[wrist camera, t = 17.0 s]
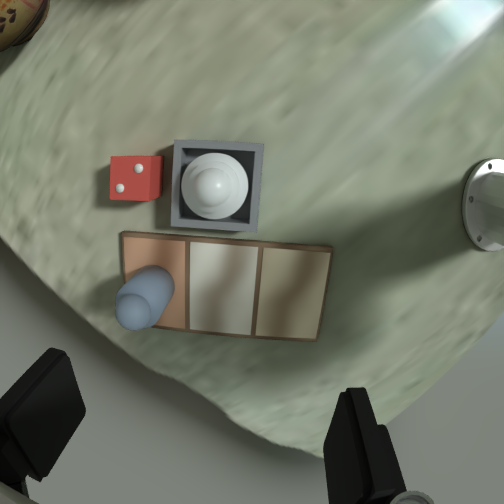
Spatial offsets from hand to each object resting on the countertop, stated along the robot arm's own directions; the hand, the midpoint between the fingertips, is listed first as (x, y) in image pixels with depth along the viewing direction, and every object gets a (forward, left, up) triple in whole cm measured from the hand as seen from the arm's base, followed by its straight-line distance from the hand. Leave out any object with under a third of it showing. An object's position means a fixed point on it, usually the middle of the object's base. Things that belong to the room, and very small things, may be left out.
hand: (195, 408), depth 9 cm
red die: (+11, -5, -27) cm, 29 cm away
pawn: (+10, +7, -26) cm, 28 cm away
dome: (+3, -5, -25) cm, 25 cm away
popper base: (+3, -5, -27) cm, 27 cm away
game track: (+2, +7, -27) cm, 28 cm away
